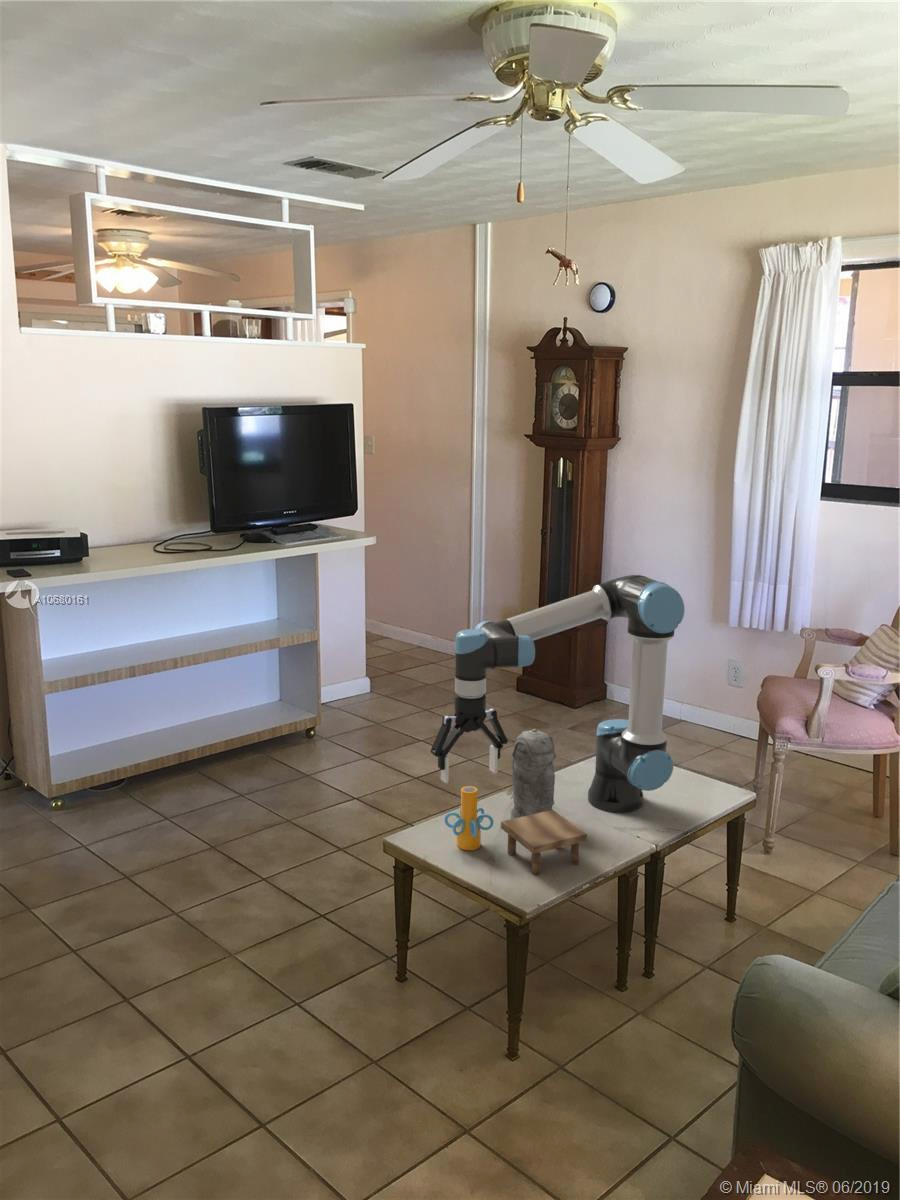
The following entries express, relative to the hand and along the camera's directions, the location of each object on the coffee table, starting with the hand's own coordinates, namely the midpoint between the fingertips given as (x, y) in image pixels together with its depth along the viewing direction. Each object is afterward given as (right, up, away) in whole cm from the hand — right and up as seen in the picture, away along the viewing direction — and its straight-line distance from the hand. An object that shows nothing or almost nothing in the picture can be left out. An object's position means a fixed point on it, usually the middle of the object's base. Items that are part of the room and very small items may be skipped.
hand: (469, 776), depth 236 cm
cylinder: (0, -18, +4) cm, 19 cm away
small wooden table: (+18, -19, -2) cm, 27 cm away
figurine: (+17, -15, +19) cm, 30 cm away
